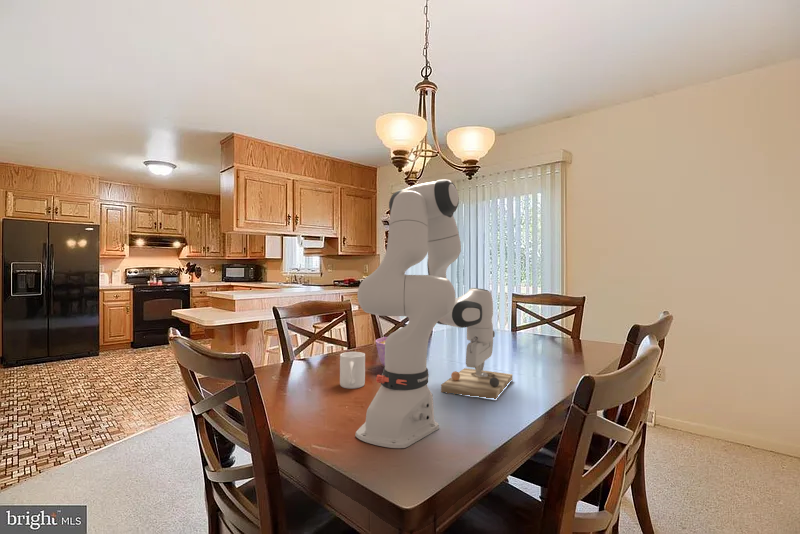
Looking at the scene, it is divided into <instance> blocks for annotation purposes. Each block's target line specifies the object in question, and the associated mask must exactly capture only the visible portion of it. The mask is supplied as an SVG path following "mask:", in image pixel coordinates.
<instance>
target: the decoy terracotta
mask: <svg viewBox="0 0 800 534" xmlns="http://www.w3.org/2000/svg"><path fill="white" fill-rule="evenodd" d="M458 372H459V371H457V370H456V371H453V372H452V373H451V374H450V375H451V376H450V378H451V377H452V379H453V380H459V378H460V374H459V373H458Z"/></svg>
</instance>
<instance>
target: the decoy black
mask: <svg viewBox="0 0 800 534" xmlns="http://www.w3.org/2000/svg"><path fill="white" fill-rule="evenodd" d="M490 385H491V386H492V387H497V386H498V385H499V380H498V379H497V378H495V377H493V378H491V379H490Z"/></svg>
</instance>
